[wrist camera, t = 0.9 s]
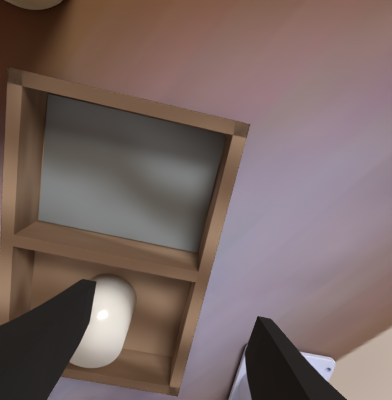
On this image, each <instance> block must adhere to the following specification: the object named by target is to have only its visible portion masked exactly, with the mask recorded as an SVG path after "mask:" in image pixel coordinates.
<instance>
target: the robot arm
mask: <svg viewBox="0 0 392 400" xmlns="http://www.w3.org/2000/svg"><path fill="white" fill-rule="evenodd" d="M96 283H97V282H96V281H91V280H86V279H81V280H80V281H78V282H76V283H75V284H73V285H72V286H70V287H69V288H67V289H65V290H64V291H62V292H61V293H59V294H58V295H56V296H54V297H53V298H51V299H49V300H48V301H46V302H45V303H43V304H41V305H39V306H38V307H36V308H34V309H32V310H30V311H29V312H27V313H25V314H23V315H21V316H19V317H17V318H15V319H13V320H11V321H9V322H7V323H5V324H2V325H0V400H47V398H48V397H49V395H50V393H51V392H52V390H53V388H54V387H55V385H56V383H57V381H58V380H59V378H60V376H61V375H62V373H63V371H64V370H65V368H66V366H67V365H68V363H69V361H70V360H71V358H72V356H73V355H74V353H75V351H76V350H77V348H78V346H79V344H80V342H81V340H82V338H83V336H84V334H85V331H86V329H87V327H88V325H89V322H90V318H91V312H92V306H93V300H94V295H95V289H96ZM335 365H336V364H335V361H334V360H333V359H332V358H330V357H325V356H320V355H314V354H309V353H304V352H299V351H298V349H297V348H296V347H295V346H294V345H293V344H292V342H291V341H290V340H289V339H288V338H287V337H286V335H285V334H284V333H283V332H282V331H281V330H280V328H279V327H278V326H277V325H276V324H275V323H274V322H273V321H272V320H271V319H269V318H264V317H260V316H258V317H257V320H256V322H255V325H254V328H253V331H252V334H251V337H250V339H249V342H248V344H247V345H246V347H245V350H244V353H243V356H242V359H241V362H240V365H239V368H238V371H237V374H236V378H235V381H234V384H233V387H232V390H231V393H230V396H229V399H228V400H347V399H345V398H344V397H343V396H342V395H341V394H340V393H339V392H338V391H337V390H336V389H335V388H334V387H333V386H331V385H330V384H329V383H328V381H329V379H330V377H331V374H332V372H333V370H334V368H335Z"/></svg>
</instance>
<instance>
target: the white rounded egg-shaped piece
mask: <svg viewBox="0 0 392 400" xmlns="http://www.w3.org/2000/svg"><path fill="white" fill-rule="evenodd" d="M89 280H91V281H96V282H97V283H96V289H95V295H94V300H93V306H92V312H91V318H90V322H89V325H88V327H87V329H86V331H85V334H84V336H83V338H82V340H81V342H80V344H79V346H78V348H77V350H76V351H75V353H74V355H73V356H72V358H71V360H70V361H69V362H70V363H72V364H74V365H77V366H80V367H84V368H98V367H103V366H106V365H108V364H110V363H111V362H113V361H114V360H115V359H116V358H117V357H118V356H119V354H120V352H121V350H122V347H123V344H124V341H125V338H126V335H127V332H128V329H129V326H130V323H131V320H132V317H133V314H134V311H135V308H136V304H137V295H136V292H135V289H134V288H133V286H132V285H131V284H130V283H129V282H128V281H127V280H126V279H124V278H123V277H121V276H118V275H115V274H110V273H104V274H99V275H96V276H94V277H92V278H90V279H89Z"/></svg>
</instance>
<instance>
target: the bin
mask: <svg viewBox="0 0 392 400" xmlns="http://www.w3.org/2000/svg"><path fill="white" fill-rule="evenodd" d="M249 127H250V124H247V123H243V122H239V121H234V120H230V119H226V118H222V117H217V116H213V115H209V114H205V113H201V112H196V111H192V110H188V109H184V108H179V107H175V106H171V105H167V104H163V103H158V102H154V101H150V100H146V99H141V98H137V97H133V96H129V95H124V94H120V93H116V92H112V91H108V90H103V89H99V88H95V87H91V86H86V85H82V84H78V83H74V82H69V81H65V80H61V79H57V78H53V77H48V76H44V75H40V74H36V73H31V72H27V71H23V70H19V69H14V68H10V67H8V76H7V100H6V123H5V146H4V169H3V192H2V215H1V238H0V325H2V324H5V323H7V322H9V321H11V320H13V319H15V318H17V317H19V316H21V315H23V314H25V313H27V312H29V311H30V310H32V309H34V308H36V307H38V306H39V305H41V304H43V303H45V302H46V301H48V300H49V299H51V298H53V297H54V296H56V295H58V294H59V293H61V292H62V291H64V290H65V289H67V288H69V287H70V286H72V285H73V284H75V283H76V282H78V281H80V280H81V279H86V280H89V279H90V278H92V277H94V276H96V275H99V274H104V273H110V274H115V275H118V276H121V277H123V278H124V279H126V280H127V281H128V282H129V283H130V284H131V285H132V286H133V288H134V289H135V292H136V295H137V304H136V308H135V311H134V314H133V317H132V320H131V323H130V326H129V329H128V332H127V335H126V338H125V341H124V344H123V347H122V350H121V352H120V354H119V356H118V357H117V358H116V359H115V360H114V361H113V362H111V363H110V364H108V365H106V366H103V367H98V368H84V367H80V366H77V365H74V364H72V363H70V362H69V363H68V365H67V366H66V368H65V370H64V371H63V373H62V375H61V376H62V377H68V378H74V379H80V380H85V381H91V382H97V383H103V384H109V385H114V386H120V387H126V388H132V389H138V390H144V391H149V392H155V393H161V394H167V395H173V396H178V394H179V390H180V386H181V382H182V379H183V375H184V371H185V367H186V364H187V360H188V356H189V352H190V348H191V345H192V341H193V337H194V333H195V330H196V326H197V322H198V318H199V315H200V311H201V307H202V303H203V300H204V296H205V292H206V288H207V285H208V281H209V277H210V273H211V270H212V266H213V262H214V258H215V255H216V251H217V247H218V243H219V240H220V236H221V232H222V228H223V225H224V221H225V217H226V213H227V210H228V206H229V202H230V198H231V195H232V191H233V187H234V183H235V180H236V176H237V172H238V168H239V165H240V161H241V157H242V153H243V149H244V146H245V142H246V138H247V134H248V131H249Z"/></svg>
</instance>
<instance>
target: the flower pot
mask: <svg viewBox="0 0 392 400" xmlns="http://www.w3.org/2000/svg"><path fill="white" fill-rule="evenodd" d="M5 1H7V2H9V3H11V4H13V5H15V6H18V7H21V8H25V9H31V10H42V9H47V8H50V7H53V6H55V5H57V4H59V3H60V2H62V1H63V0H5Z"/></svg>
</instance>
